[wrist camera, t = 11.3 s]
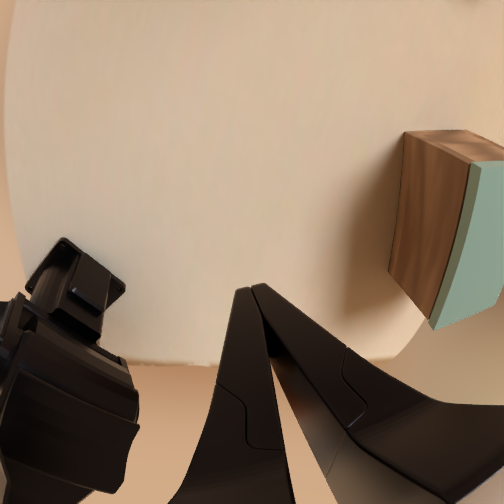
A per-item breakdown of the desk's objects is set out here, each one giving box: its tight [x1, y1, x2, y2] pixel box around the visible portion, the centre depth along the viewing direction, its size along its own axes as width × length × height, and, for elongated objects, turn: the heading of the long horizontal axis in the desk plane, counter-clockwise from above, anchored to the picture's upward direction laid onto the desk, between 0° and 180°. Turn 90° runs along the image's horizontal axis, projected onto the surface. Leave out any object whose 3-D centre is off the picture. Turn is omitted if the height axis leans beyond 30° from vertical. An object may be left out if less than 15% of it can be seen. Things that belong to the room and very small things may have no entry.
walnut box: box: [388, 130, 504, 320], centre depth 23 cm, size 8×14×7 cm, turn 7°
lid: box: [428, 161, 504, 331], centre depth 20 cm, size 8×14×1 cm, turn 7°
